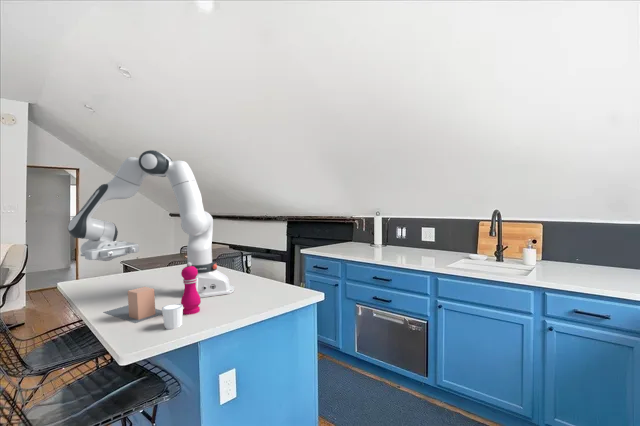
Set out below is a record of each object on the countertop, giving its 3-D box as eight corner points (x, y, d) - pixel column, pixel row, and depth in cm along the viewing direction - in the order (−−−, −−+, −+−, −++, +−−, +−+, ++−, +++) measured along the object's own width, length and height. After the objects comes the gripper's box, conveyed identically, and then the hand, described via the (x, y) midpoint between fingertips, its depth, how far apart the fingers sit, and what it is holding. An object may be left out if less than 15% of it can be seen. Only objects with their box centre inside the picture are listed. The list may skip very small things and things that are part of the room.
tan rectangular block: (146, 311, 133) (144, 286, 133) (155, 314, 129) (154, 288, 129) (129, 316, 127) (127, 290, 127) (138, 319, 124) (137, 293, 123)
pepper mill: (189, 317, 126) (186, 264, 125) (177, 314, 130) (175, 263, 129) (205, 311, 132) (202, 261, 131) (193, 308, 136) (191, 260, 135)
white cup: (167, 323, 121) (166, 304, 121) (186, 321, 121) (185, 303, 121) (159, 330, 114) (158, 310, 114) (180, 329, 115) (179, 309, 114)
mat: (102, 313, 134) (102, 312, 134) (135, 304, 144) (135, 303, 144) (135, 324, 121) (135, 323, 121) (168, 313, 131) (168, 312, 131)
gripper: (77, 247, 137) (93, 248, 130) (128, 240, 154) (145, 241, 147) (79, 262, 138) (95, 264, 130) (129, 253, 155) (146, 255, 147)
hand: (122, 252), depth 139 cm, fingers open, 8 cm apart
